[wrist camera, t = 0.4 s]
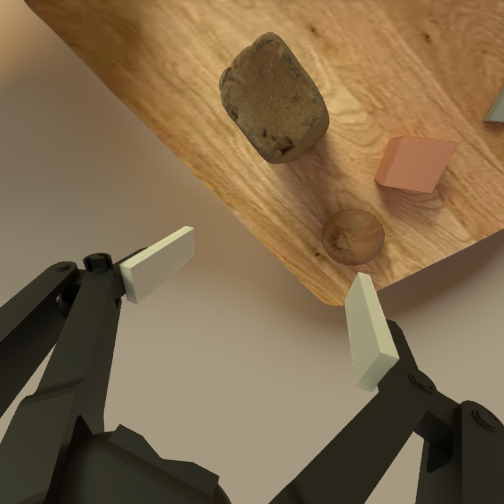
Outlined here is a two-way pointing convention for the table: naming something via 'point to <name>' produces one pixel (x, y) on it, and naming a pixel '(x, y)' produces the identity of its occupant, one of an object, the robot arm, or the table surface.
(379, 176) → the brick block
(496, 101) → the build plate
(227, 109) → the rough sandstone chunk
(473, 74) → the table surface
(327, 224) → the onion
